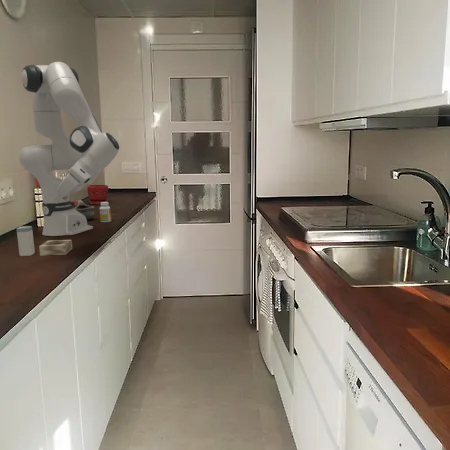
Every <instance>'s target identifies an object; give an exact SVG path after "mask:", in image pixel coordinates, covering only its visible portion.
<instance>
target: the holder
mask: <svg viewBox="0 0 450 450" xmlns="http://www.w3.org/2000/svg"><path fill="white" fill-rule="evenodd" d="M38 247H39V256H40V257H42V256H43V257H44V256H63V255H68V253H69V252H70V251H71V250H73V241H72V239H59V240H58V239H56V240H55V239H53V240H46V241H44V242H43V243H42V244H41V245H39V246H38Z"/></svg>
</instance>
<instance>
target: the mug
mask: <svg viewBox="0 0 450 450" xmlns="http://www.w3.org/2000/svg"><path fill="white" fill-rule="evenodd" d="M76 201H77V204H76V206H75V207H73V208H74V209H75V210H77V211H78V212H80V213H81V214H83V215H84V216H85V217H86V220H87V222H88V221H91V220H92V219H94V217H95V211H94V209H95V206H93V205H92V206H91V205H88V204H86V203H84V201H83V200H82V199H80V200H79V199H78V200H76Z"/></svg>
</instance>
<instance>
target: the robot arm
mask: <svg viewBox="0 0 450 450" xmlns="http://www.w3.org/2000/svg"><path fill="white" fill-rule="evenodd" d="M20 79H21V82H22V83H21V84H22V85H23V88H24V89H25V90H26V91H27V92H30V93H33V95H32V110H33V111H32V112H33V120H34V130H35V131H36V132H37V133H38V134H39V135H41V136H43V137H46V138H47V139H50V140H51V142H52V143H51V144H37V145H36V144H35V145H29V146H25V147H23V148H22V149H21V150H20V152H19V155H18V159H19V163H20V164H21V166H22V168H23V169H24V170H26V171H28V172H29V173H31V174H32V175H33V176H34V178H35V179H36V181H37V182H38V184H39V187H40V191H41V197H42V202H41V209H42V214H43V229H42V236H45V237H47V236H49V237H57V236H72V235H73V236H74V235H77V234H80V233H83V232H86V231H89V230H93V228H94V226H93V225H90V224H88V221H87V220H86V217H85V216H84V215H83V214H81V213H80V212H78V211H77V210H75V209H74V208H75V207H77V201H78V200H72V201H71V200H70V197H71V196H72V195H73V194H76V193H79V192H80V191H81V190H82V189H83V188H84V186H87V184H88V185H93V183H94V181H96V179H97V178H99V176H100V175H101V173H102V171H103V170H104V169H106V167H108V166H109V165H110V164H111V163H112V162H113V160H114V159H115V157H116V156H117V154H119V151H120V145H119V143H118V141H117V139H116V138H114V136H113V135H112V134H110V133H108V132H106V131H105V132H103V131H102V129H101V127H100V125H99V123H98V121H97V120H96V118H95V116H94V114H93V112H92V110H91V108H90V106H89V104H88V102H87V100H86V98H85V95H84V93H83V91H82V89H81V86H80V80H79V79H80V78H79V75H78V72H77V71H76V69H75V68H72V67H70V66H69V65H68V64H67V63H64V62H62V61H53V62H51V63H50V64H46V65H45V64H38V65H35V64H29V65H25V66H24V67H23V68H22V71H21V78H20ZM62 111H63V112H64V113H66V114H67V115H69V116H70V117H71V118H72V119H74V121H76V122H77V124H78V125H79V126H77V127H76V128H74V130H73V131H72V132H71V133H70V136H69V137H68V135H67V133H66V132H65V129H64V125H63V124H64V123H63V119H62V117H63V116H62ZM59 170H61V171H64V170H68V173H67V174H66V176H65V177H64V178H63V179H61V178H59V177H57V176H55V175H53V173H52V171H59ZM74 206H75V207H74Z"/></svg>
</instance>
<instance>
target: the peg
mask: <svg viewBox="0 0 450 450" xmlns="http://www.w3.org/2000/svg"><path fill="white" fill-rule="evenodd" d="M15 230H16V234H17V235H16V236H17V242H18V243H17V245H18V253H19V256H20V257H25V256H26V257H27V256H29V257H30V256H32V255H34V254H35V252H36V251H35V243H34V235H33V234H34V233H33V226H32V225H30V226H29V225H27V226H19V227H17V228H16V229H15Z"/></svg>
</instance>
